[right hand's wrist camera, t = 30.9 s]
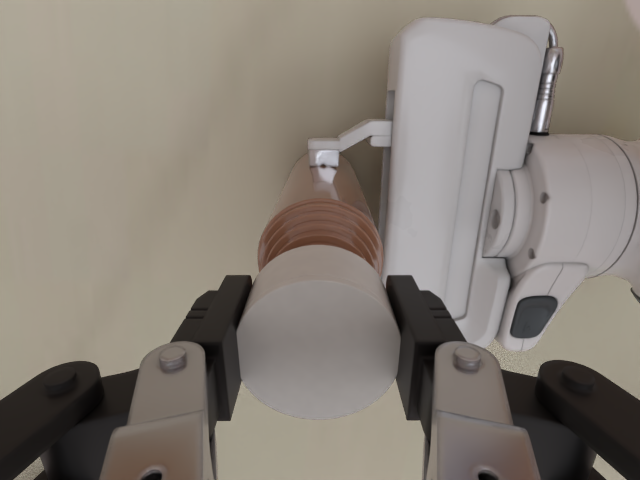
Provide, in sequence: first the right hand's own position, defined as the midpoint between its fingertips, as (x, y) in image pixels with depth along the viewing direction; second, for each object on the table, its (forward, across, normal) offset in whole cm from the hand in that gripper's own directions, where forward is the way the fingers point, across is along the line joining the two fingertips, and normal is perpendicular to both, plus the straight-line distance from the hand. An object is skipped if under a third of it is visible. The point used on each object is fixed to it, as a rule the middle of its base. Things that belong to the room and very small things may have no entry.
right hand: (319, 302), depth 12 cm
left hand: (+12, -1, 0) cm, 12 cm away
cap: (-2, 0, 0) cm, 2 cm away
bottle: (+19, 0, 0) cm, 19 cm away
